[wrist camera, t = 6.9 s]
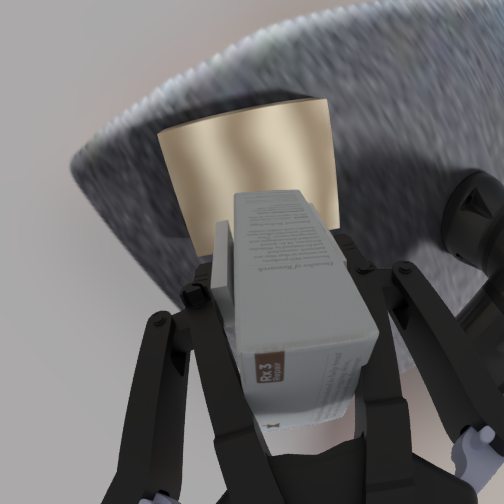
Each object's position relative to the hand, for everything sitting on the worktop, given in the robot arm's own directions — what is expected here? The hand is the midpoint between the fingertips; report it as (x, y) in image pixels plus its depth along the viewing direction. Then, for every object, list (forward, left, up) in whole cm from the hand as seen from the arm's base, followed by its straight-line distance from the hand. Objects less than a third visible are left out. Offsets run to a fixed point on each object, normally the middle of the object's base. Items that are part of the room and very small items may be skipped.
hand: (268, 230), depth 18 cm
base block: (0, 0, -14) cm, 14 cm away
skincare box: (0, 0, 0) cm, 0 cm away
